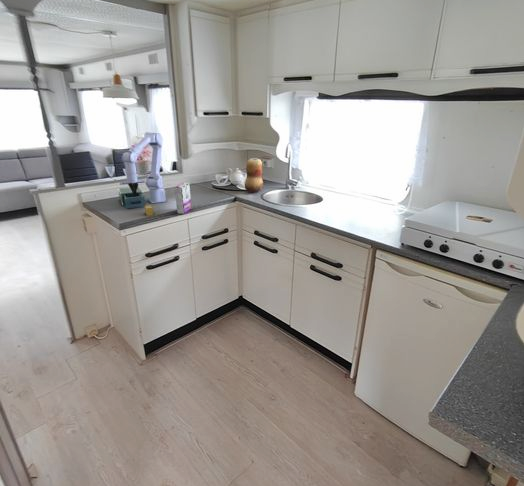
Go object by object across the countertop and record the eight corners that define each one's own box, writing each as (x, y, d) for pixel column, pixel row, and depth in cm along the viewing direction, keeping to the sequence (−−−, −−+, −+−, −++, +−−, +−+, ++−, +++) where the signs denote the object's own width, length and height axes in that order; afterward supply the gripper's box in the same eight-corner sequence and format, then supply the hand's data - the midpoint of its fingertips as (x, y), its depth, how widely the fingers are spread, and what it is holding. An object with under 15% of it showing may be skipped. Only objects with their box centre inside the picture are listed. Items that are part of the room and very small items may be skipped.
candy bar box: (184, 208, 204) (182, 182, 197) (191, 209, 203) (189, 183, 196) (176, 213, 193) (174, 186, 187) (184, 214, 193) (182, 187, 186)
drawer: (146, 207, 201) (145, 198, 198) (127, 210, 195) (125, 200, 193) (141, 200, 215) (139, 191, 213) (122, 202, 210) (121, 193, 208)
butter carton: (145, 213, 193) (144, 206, 192) (151, 212, 195) (150, 205, 193) (147, 215, 189) (146, 208, 188) (153, 215, 191) (152, 207, 189)
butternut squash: (249, 195, 235) (249, 160, 225) (241, 191, 246) (241, 157, 236) (266, 193, 241) (267, 159, 232) (257, 189, 252) (258, 156, 242)
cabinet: (143, 203, 213) (141, 191, 209) (122, 206, 207) (120, 193, 204) (139, 198, 224) (137, 186, 221) (119, 200, 218) (117, 188, 215)
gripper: (119, 175, 185) (122, 198, 191) (145, 173, 192) (148, 195, 197) (117, 173, 191) (121, 195, 196) (143, 171, 198) (145, 193, 203)
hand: (134, 195), depth 197 cm, fingers closed
